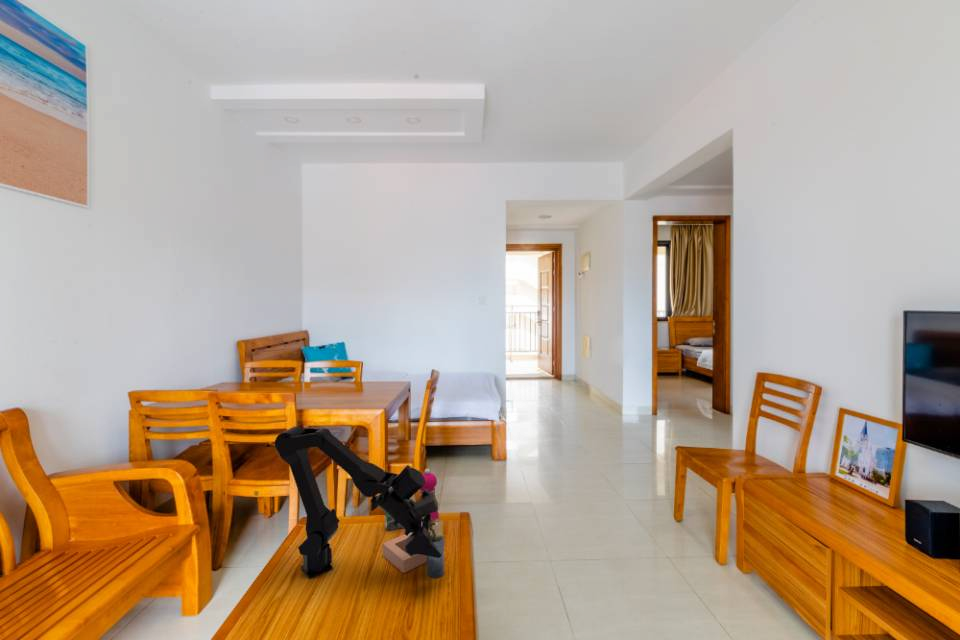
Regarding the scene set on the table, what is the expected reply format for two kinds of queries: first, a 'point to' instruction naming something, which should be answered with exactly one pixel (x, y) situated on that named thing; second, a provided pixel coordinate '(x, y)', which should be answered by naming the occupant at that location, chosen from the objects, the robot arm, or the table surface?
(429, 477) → the pepper mill
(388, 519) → the coffee box
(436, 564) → the tube
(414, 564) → the socket block
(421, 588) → the table surface
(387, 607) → the table surface
